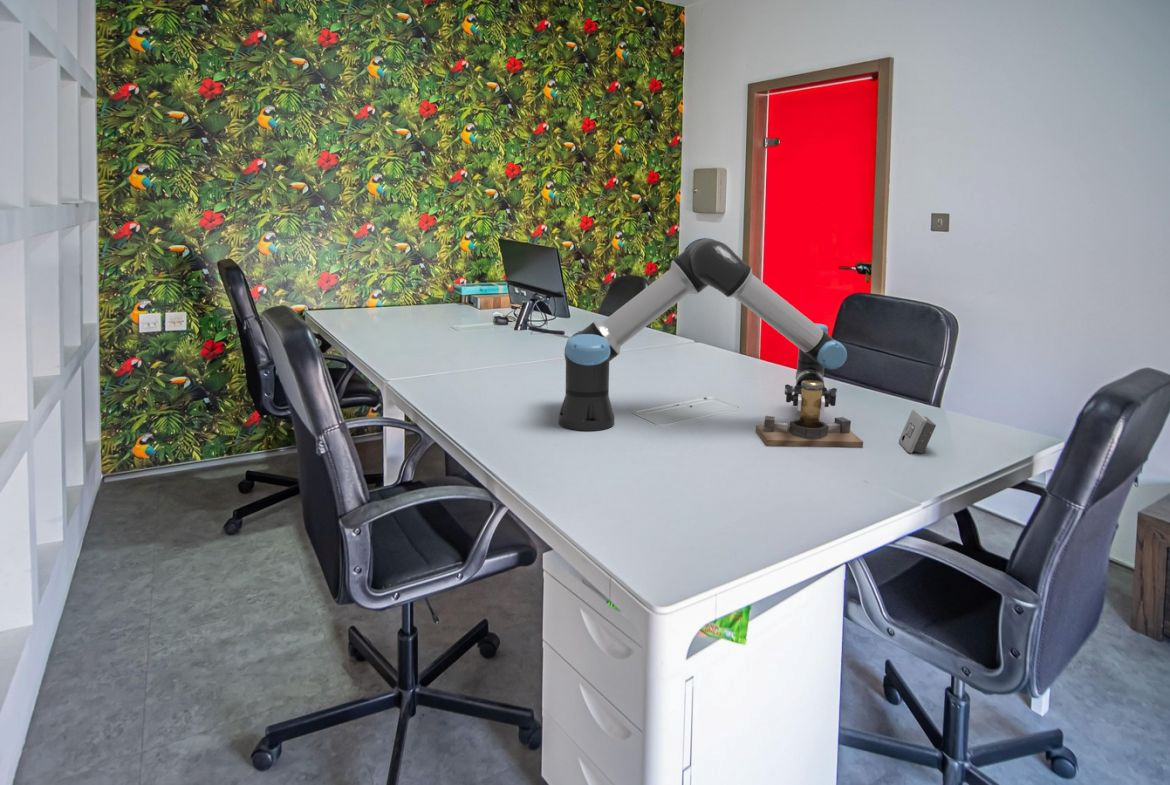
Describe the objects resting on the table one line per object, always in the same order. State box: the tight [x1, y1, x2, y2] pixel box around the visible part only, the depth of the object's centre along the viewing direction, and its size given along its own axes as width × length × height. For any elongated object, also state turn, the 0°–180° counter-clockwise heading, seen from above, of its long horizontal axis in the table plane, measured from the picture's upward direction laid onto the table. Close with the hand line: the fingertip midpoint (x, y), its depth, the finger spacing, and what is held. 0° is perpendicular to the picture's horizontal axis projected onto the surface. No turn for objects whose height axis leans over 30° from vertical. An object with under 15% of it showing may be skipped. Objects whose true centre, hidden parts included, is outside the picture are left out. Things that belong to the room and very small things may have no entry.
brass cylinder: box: [798, 380, 825, 428], centre depth 197 cm, size 5×5×12 cm
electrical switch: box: [898, 409, 937, 455], centre depth 192 cm, size 9×5×9 cm, turn 173°
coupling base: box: [755, 415, 864, 449], centre depth 199 cm, size 24×13×5 cm, turn 90°
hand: (811, 406), depth 192 cm, fingers closed on brass cylinder, 5 cm apart
